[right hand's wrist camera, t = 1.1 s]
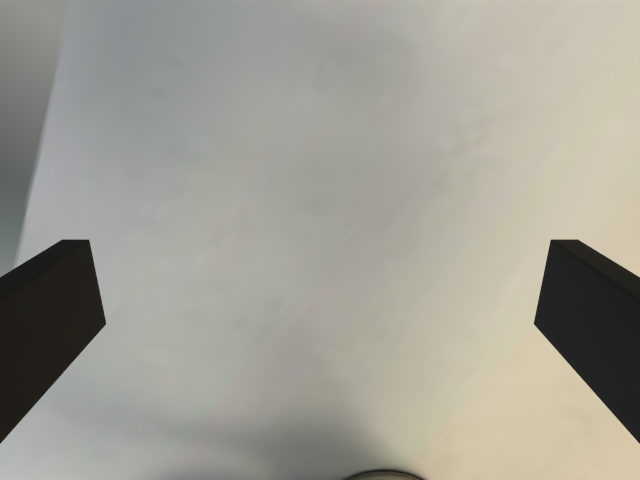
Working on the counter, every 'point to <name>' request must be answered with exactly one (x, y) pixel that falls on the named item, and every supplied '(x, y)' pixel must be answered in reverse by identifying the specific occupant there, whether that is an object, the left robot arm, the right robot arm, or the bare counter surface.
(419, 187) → the counter surface
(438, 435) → the counter surface
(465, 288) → the counter surface
